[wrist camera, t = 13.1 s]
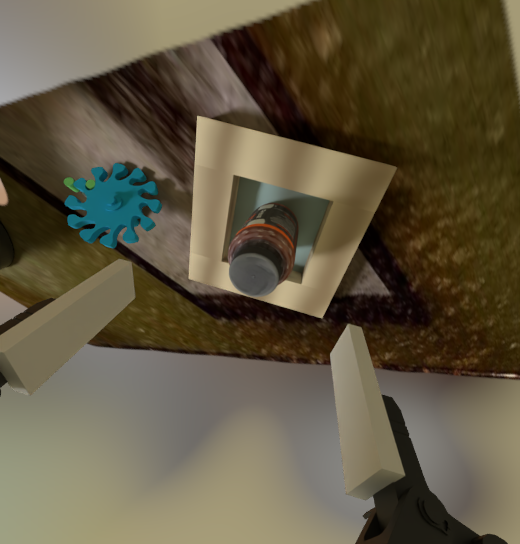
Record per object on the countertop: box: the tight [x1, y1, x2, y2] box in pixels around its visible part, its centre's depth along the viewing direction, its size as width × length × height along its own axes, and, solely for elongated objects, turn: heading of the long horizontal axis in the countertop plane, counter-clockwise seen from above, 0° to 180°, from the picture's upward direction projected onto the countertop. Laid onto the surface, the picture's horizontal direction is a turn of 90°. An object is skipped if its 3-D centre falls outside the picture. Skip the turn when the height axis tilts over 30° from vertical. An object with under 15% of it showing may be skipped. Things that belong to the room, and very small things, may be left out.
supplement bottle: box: [228, 203, 299, 297], centre depth 22 cm, size 6×6×11 cm
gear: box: [64, 163, 162, 248], centre depth 27 cm, size 11×6×10 cm
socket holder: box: [189, 116, 397, 318], centre depth 26 cm, size 18×18×3 cm
